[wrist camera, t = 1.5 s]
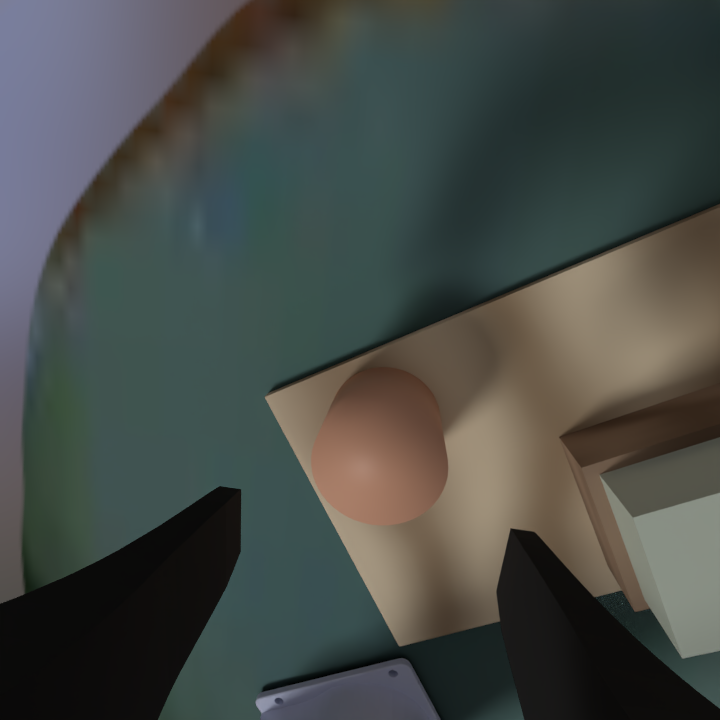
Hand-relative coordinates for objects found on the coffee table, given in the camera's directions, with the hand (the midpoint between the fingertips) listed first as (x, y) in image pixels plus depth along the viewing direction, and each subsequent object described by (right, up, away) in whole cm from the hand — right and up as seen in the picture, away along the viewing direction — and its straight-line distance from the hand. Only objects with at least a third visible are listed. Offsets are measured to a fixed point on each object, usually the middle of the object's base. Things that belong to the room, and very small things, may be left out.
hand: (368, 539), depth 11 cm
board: (+8, 0, +8) cm, 11 cm away
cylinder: (+1, +2, +7) cm, 8 cm away
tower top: (+13, -1, +4) cm, 13 cm away
